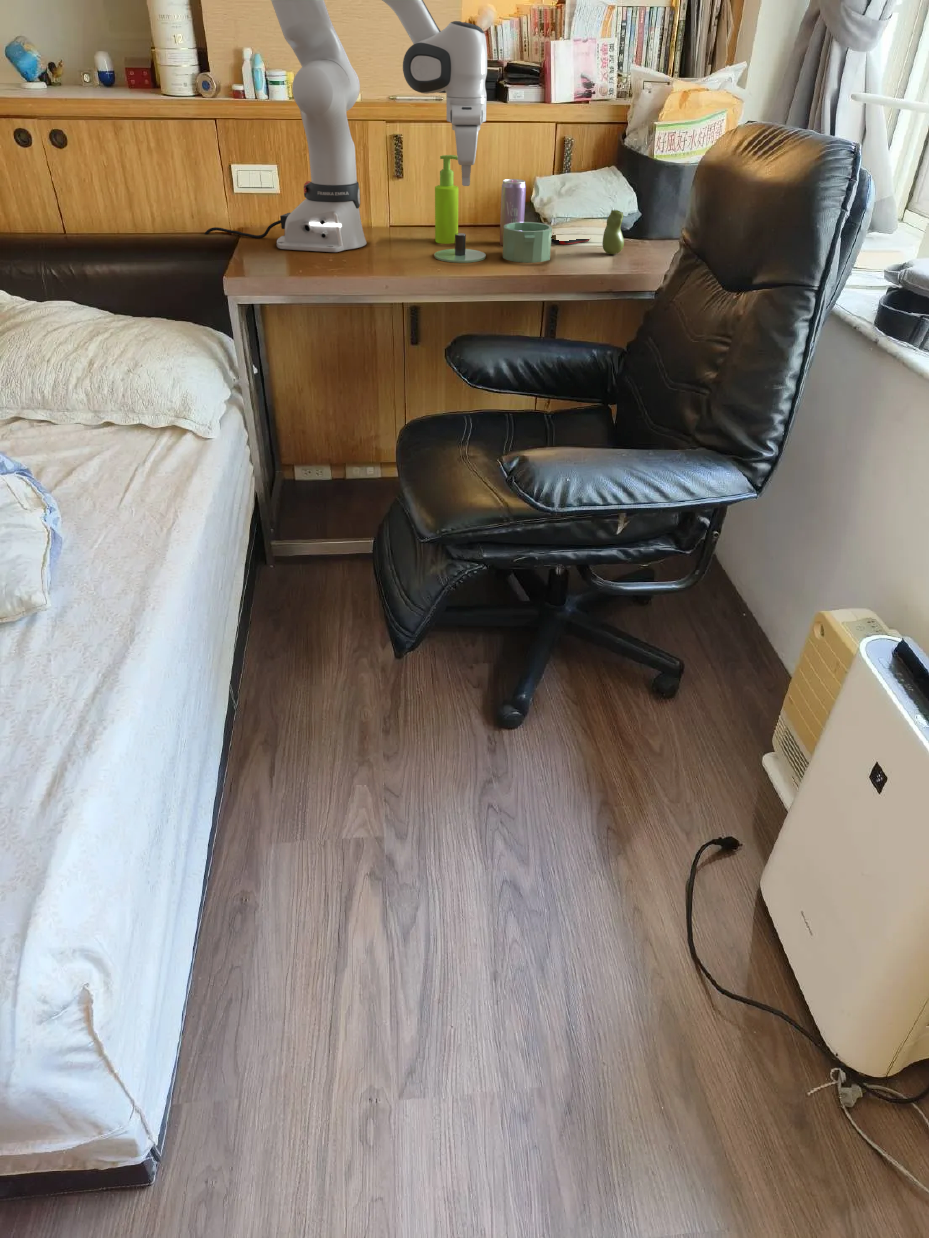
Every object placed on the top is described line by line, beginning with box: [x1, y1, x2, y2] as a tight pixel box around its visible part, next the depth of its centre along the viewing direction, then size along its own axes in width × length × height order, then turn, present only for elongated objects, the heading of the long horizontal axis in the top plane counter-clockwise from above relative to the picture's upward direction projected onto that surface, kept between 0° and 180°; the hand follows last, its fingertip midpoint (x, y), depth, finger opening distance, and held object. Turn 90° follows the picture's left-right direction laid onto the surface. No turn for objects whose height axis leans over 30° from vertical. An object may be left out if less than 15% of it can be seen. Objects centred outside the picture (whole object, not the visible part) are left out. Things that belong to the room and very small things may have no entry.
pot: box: [501, 221, 553, 264], centre depth 198 cm, size 11×17×7 cm
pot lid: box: [433, 232, 487, 264], centre depth 197 cm, size 12×12×6 cm
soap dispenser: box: [434, 154, 459, 245], centre depth 207 cm, size 6×7×20 cm
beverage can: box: [499, 178, 527, 246], centre depth 207 cm, size 6×6×15 cm
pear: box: [601, 209, 625, 255], centre depth 203 cm, size 6×5×10 cm
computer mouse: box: [551, 238, 591, 246], centre depth 216 cm, size 6×11×4 cm, turn 122°
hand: (465, 182), depth 190 cm, fingers open, 8 cm apart
